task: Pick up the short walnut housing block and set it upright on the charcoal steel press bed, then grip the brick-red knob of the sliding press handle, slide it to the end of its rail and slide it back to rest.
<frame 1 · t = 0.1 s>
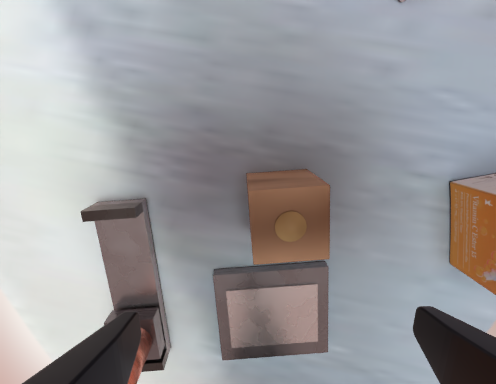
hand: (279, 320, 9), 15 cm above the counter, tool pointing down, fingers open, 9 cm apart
housing block: (277, 200, 23), on the counter
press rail: (137, 280, 24), on the counter
press handle: (124, 358, 21), point 5 cm above the counter, slide at 0.0 cm
press bed: (271, 308, 26), on the counter
small box: (480, 217, 24), on the counter
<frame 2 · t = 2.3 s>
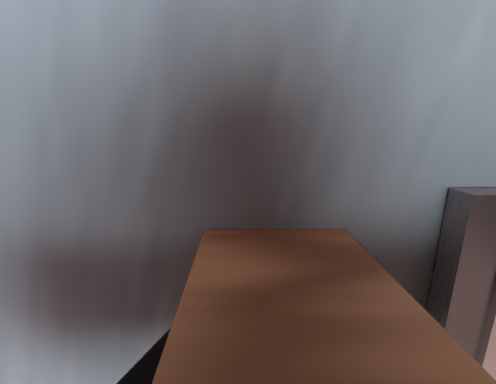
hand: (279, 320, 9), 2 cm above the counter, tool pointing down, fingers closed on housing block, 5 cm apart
housing block: (273, 291, 10), on the counter, touching gripper
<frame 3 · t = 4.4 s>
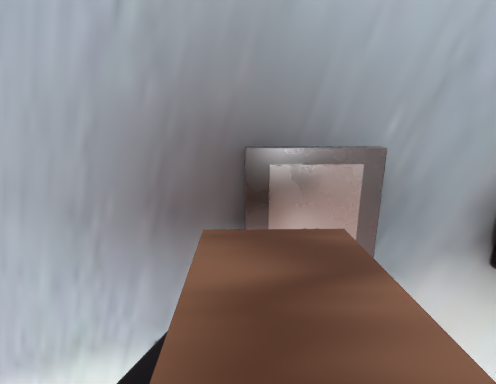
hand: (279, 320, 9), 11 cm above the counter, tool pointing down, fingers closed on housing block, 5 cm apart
housing block: (272, 291, 10), point 9 cm above the counter, touching gripper
press bed: (308, 218, 19), on the counter
when the fingers open (4 cm above the counter, at t = 6.9 s): housing block stays where it is, resting on press bed.
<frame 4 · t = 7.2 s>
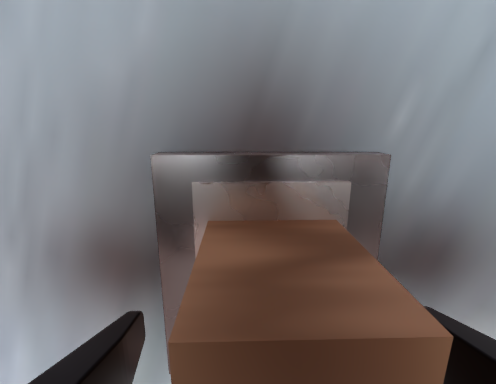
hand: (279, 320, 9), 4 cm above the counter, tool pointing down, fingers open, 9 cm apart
housing block: (271, 277, 11), point 1 cm above the counter, touching press bed
press bed: (267, 263, 12), on the counter
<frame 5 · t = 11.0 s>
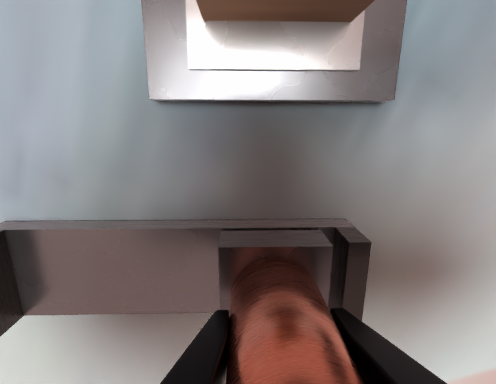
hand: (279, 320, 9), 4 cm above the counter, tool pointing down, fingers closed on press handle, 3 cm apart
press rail: (180, 260, 13), on the counter
press handle: (281, 333, 8), point 5 cm above the counter, slide at 0.0 cm, touching gripper
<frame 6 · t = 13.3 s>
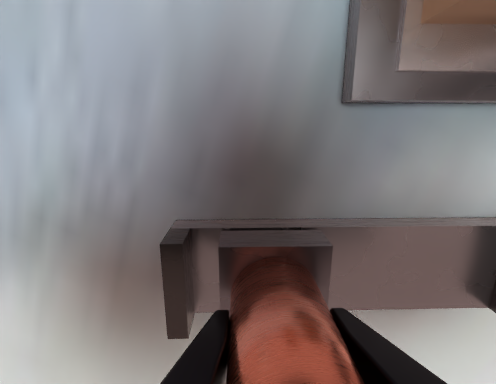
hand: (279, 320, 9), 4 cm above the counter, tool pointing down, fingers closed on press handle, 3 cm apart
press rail: (339, 258, 13), on the counter
press handle: (281, 332, 8), point 5 cm above the counter, slide at 7.4 cm, touching gripper
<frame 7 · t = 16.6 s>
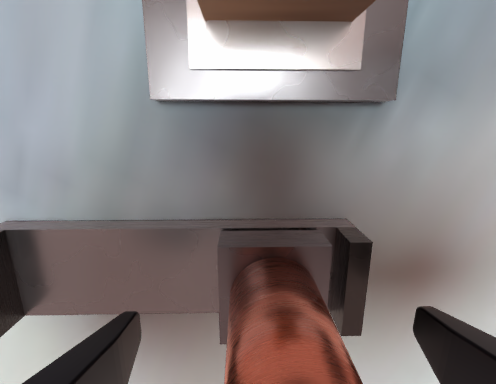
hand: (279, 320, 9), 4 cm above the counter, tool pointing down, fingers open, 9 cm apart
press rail: (181, 260, 12), on the counter
press handle: (280, 333, 8), point 5 cm above the counter, slide at 0.1 cm
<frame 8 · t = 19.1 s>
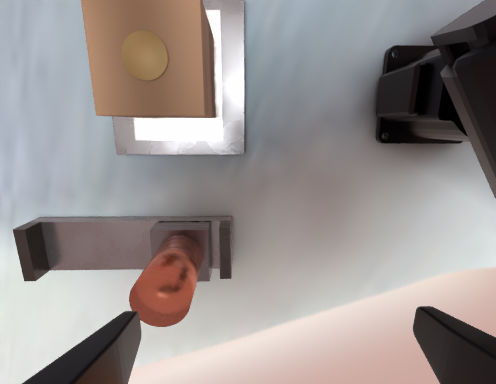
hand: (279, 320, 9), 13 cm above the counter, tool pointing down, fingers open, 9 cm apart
housing block: (176, 78, 18), point 1 cm above the counter, touching press bed
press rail: (138, 240, 22), on the counter
press handle: (174, 269, 18), point 5 cm above the counter, slide at 0.1 cm
press bed: (179, 81, 19), on the counter
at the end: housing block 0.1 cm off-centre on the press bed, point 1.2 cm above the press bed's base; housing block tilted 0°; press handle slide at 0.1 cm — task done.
